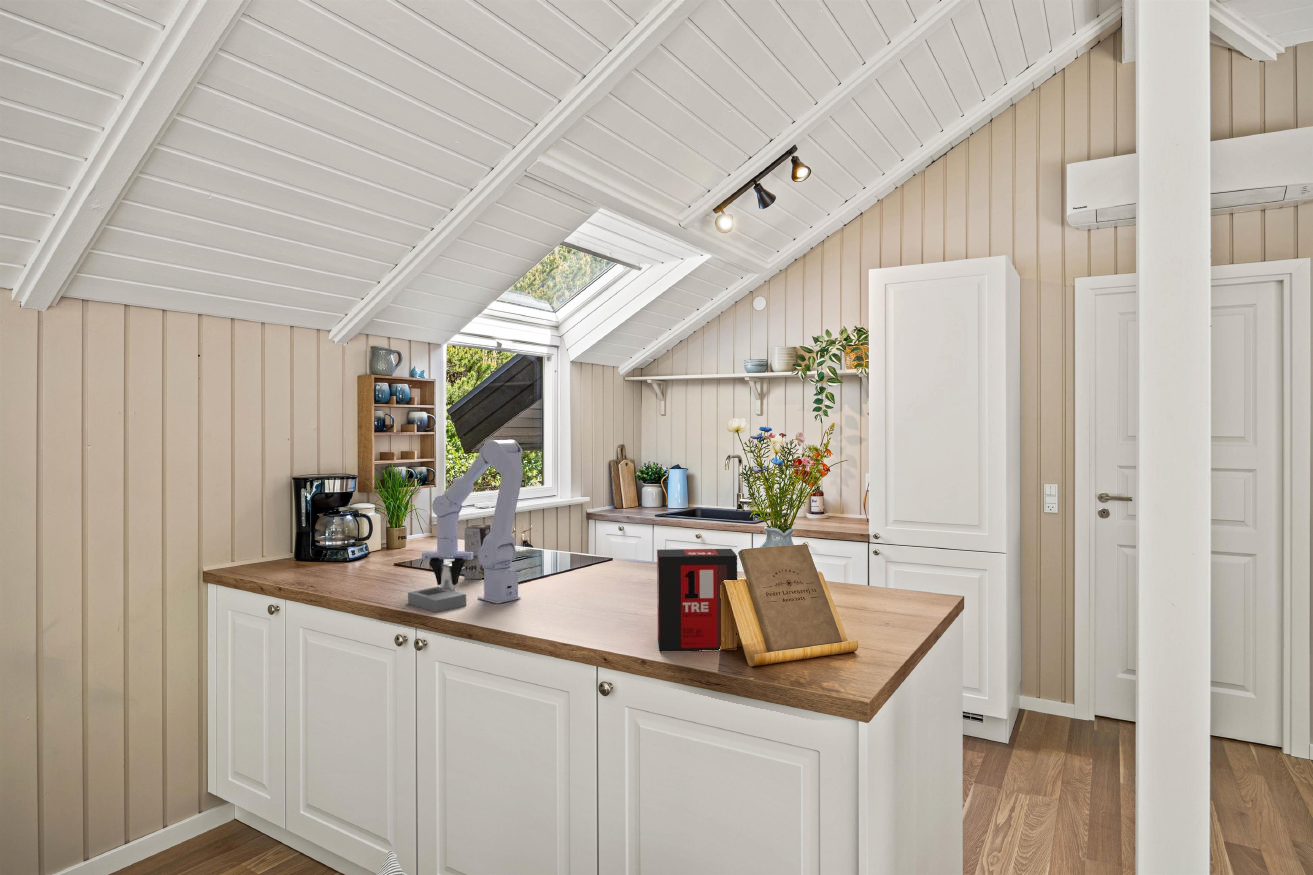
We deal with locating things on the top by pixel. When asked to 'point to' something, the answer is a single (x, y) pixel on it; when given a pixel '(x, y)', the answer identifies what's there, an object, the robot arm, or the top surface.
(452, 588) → the peg
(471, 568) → the coffee box
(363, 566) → the top surface
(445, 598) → the socket block
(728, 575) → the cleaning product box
